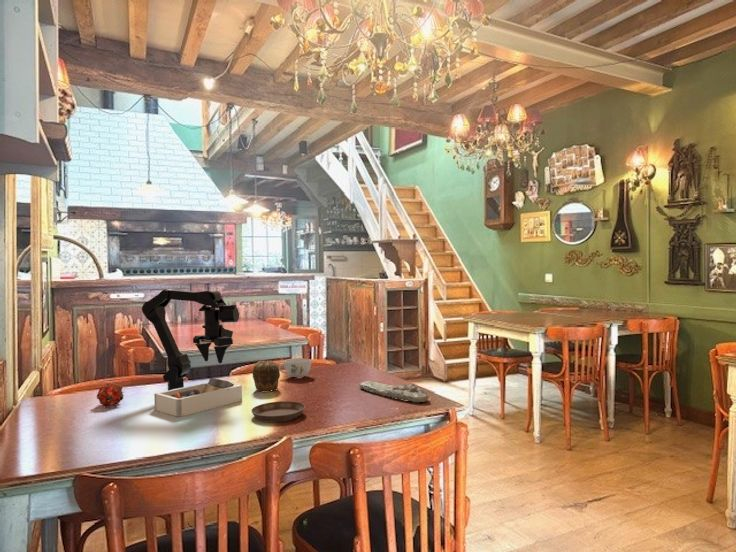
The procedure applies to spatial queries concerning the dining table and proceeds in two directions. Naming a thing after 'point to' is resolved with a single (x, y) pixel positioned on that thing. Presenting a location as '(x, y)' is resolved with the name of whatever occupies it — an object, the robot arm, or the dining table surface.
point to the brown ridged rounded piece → (266, 375)
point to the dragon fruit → (110, 394)
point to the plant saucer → (278, 411)
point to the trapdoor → (217, 385)
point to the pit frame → (196, 399)
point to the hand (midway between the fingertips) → (213, 362)
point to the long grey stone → (396, 391)
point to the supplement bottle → (185, 393)
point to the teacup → (296, 367)
